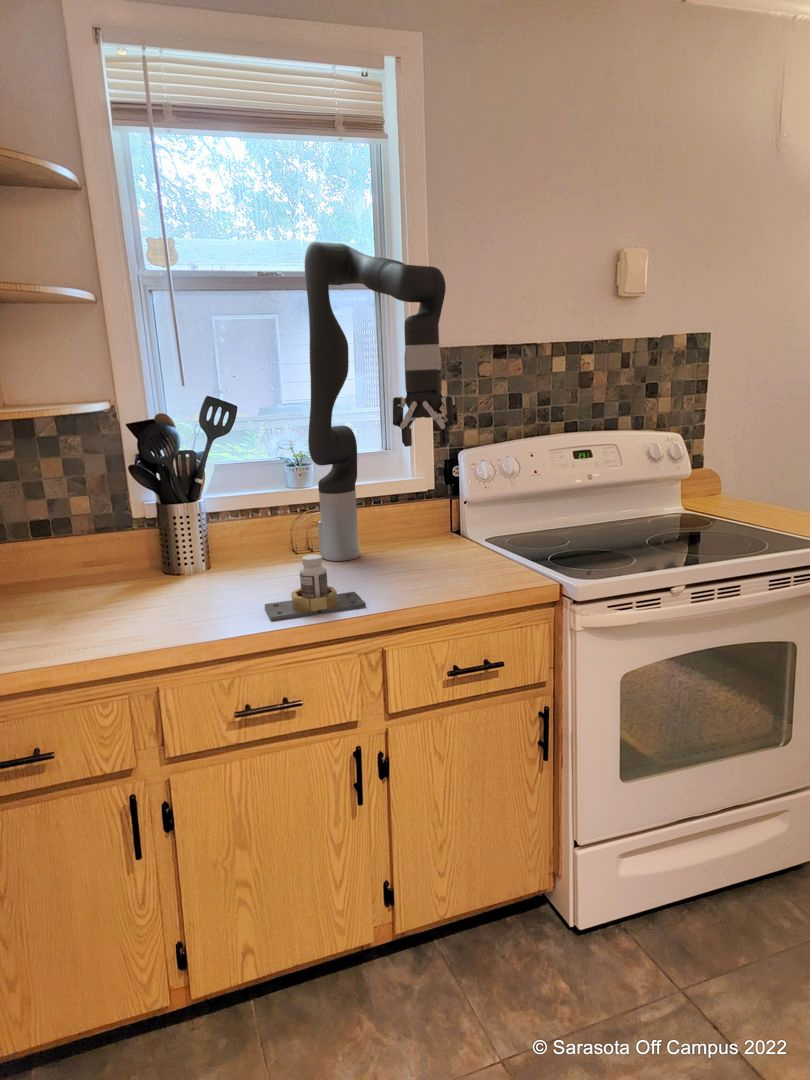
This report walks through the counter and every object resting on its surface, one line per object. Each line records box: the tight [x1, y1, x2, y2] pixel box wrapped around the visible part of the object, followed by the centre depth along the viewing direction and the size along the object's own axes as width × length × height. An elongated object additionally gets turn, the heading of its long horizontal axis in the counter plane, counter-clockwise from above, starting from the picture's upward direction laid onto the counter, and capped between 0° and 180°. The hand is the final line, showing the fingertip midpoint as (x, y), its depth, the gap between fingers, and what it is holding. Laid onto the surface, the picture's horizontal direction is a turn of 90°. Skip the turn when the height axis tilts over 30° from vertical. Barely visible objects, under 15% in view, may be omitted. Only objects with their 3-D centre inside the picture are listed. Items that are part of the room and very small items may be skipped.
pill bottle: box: [299, 554, 329, 598], centre depth 146 cm, size 5×5×10 cm
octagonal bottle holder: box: [264, 585, 367, 622], centre depth 146 cm, size 19×9×3 cm, turn 109°
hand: (425, 446), depth 153 cm, fingers open, 8 cm apart
